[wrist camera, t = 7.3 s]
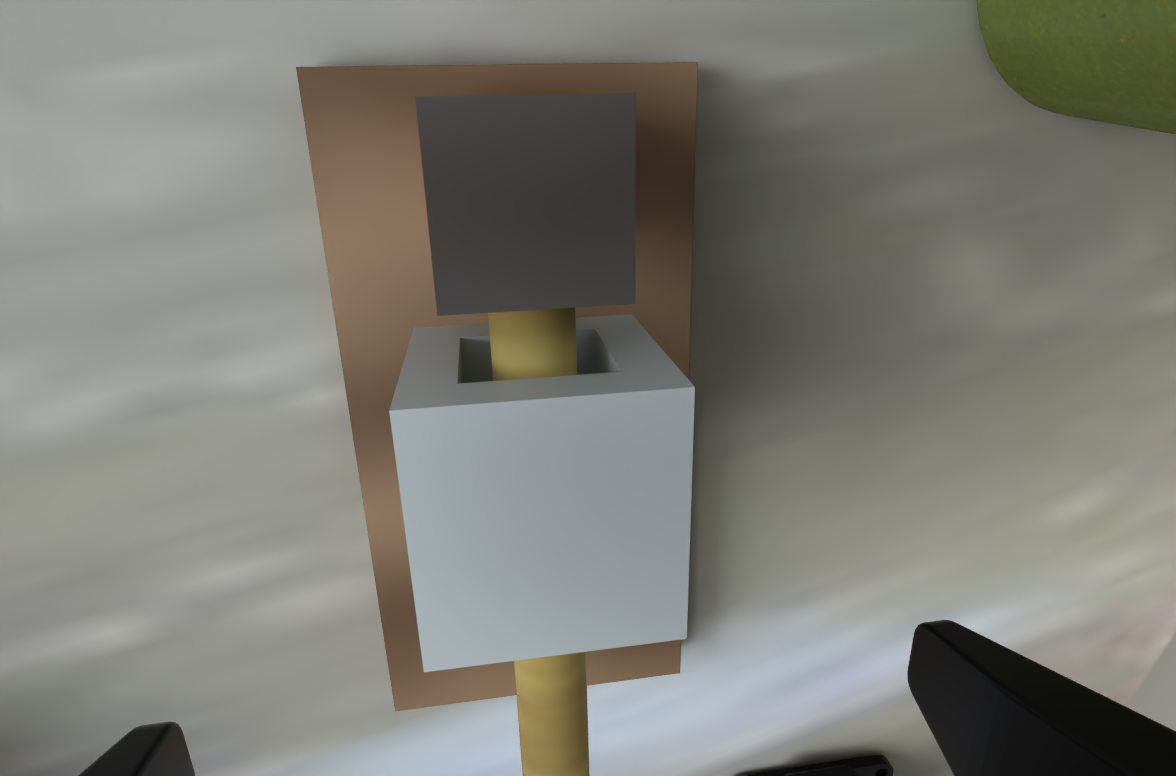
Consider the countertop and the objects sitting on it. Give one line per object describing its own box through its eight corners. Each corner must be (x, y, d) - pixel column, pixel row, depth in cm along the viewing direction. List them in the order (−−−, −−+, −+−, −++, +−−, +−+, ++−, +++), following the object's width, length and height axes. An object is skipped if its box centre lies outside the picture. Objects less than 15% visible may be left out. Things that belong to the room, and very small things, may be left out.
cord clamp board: (670, 647, 24) (753, 865, 17) (399, 682, 23) (366, 933, 16) (683, 66, 17) (825, 23, 10) (308, 71, 16) (182, 26, 9)
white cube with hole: (632, 509, 17) (686, 638, 13) (436, 528, 17) (423, 671, 12) (632, 314, 16) (694, 387, 11) (413, 327, 15) (389, 410, 11)
